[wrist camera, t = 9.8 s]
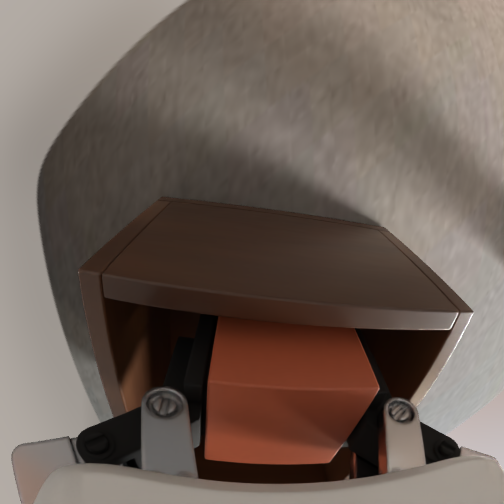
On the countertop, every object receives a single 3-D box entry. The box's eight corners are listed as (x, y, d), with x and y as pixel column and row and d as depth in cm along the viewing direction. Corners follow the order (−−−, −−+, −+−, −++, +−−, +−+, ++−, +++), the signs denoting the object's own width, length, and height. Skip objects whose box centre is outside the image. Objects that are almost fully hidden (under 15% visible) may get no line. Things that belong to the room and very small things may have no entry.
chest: (161, 196, 15) (76, 269, 7) (385, 227, 16) (474, 311, 8) (166, 391, 21) (142, 484, 13) (319, 405, 22) (335, 497, 14)
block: (223, 287, 11) (207, 381, 7) (342, 300, 11) (381, 388, 7) (215, 373, 12) (203, 459, 8) (313, 380, 13) (329, 463, 9)
